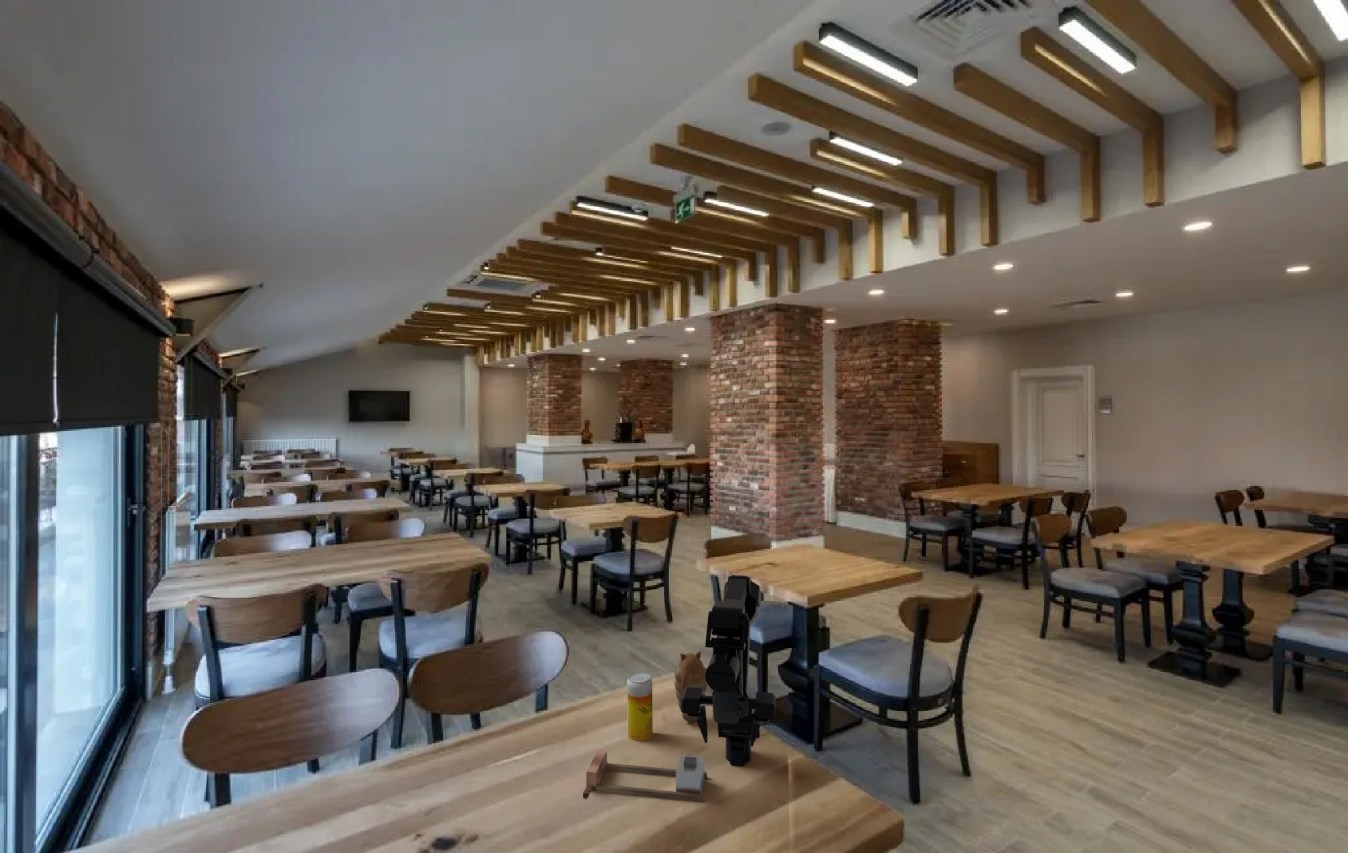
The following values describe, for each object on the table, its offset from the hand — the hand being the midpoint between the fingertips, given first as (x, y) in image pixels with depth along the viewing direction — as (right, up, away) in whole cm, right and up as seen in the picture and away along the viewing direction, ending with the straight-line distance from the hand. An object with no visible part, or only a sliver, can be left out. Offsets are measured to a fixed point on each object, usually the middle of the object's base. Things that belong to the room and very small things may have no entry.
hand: (728, 743), depth 126 cm
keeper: (-8, -11, +3) cm, 14 cm away
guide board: (-17, -12, +5) cm, 21 cm away
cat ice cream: (-7, -11, +32) cm, 35 cm away
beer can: (-19, -11, +24) cm, 33 cm away
